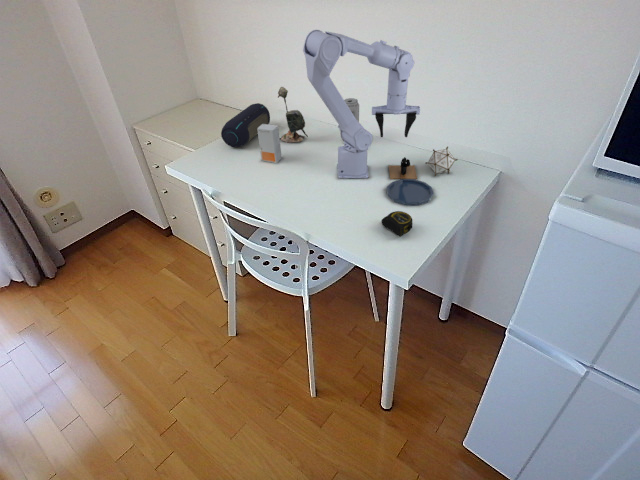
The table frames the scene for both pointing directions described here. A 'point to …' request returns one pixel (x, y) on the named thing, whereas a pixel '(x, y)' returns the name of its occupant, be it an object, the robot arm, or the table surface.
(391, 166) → the cork coaster
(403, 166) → the wireless earbuds
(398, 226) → the tape measure
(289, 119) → the plant with pod
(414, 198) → the plate
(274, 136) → the cosmetic box
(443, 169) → the game die
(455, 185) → the table surface
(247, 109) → the portable speaker
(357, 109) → the energy drink can
